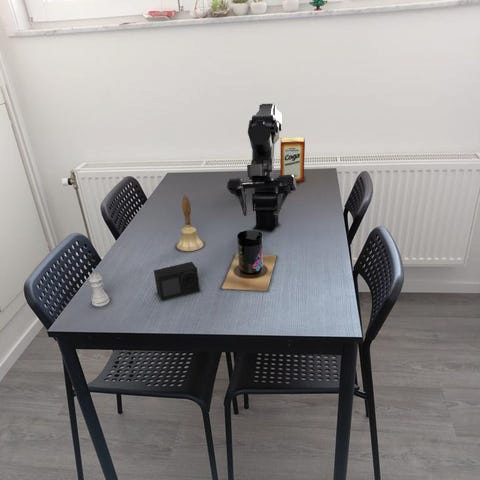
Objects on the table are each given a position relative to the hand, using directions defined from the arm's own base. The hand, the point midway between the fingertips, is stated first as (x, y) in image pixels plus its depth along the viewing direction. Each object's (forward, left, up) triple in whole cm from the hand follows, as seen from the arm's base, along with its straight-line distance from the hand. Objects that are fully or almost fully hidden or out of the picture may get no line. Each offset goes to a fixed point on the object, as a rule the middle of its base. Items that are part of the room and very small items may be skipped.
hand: (261, 215), depth 134 cm
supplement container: (+1, -9, -13) cm, 16 cm away
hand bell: (-24, -1, -13) cm, 28 cm away
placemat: (+1, -9, -13) cm, 16 cm away
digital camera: (-11, -27, -13) cm, 32 cm away
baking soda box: (-19, +70, -13) cm, 74 cm away
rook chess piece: (-27, -39, -13) cm, 49 cm away
